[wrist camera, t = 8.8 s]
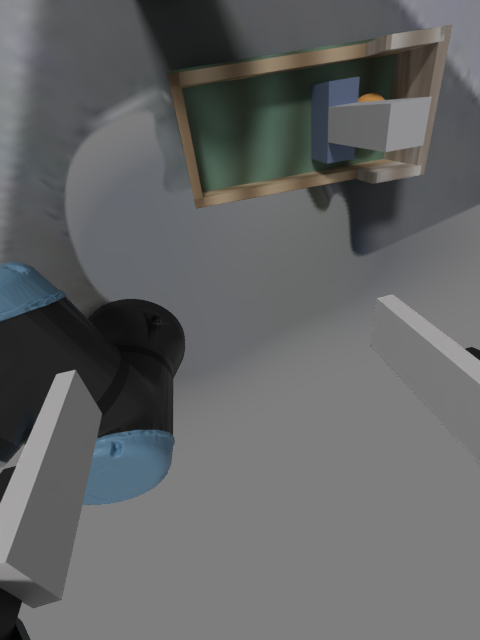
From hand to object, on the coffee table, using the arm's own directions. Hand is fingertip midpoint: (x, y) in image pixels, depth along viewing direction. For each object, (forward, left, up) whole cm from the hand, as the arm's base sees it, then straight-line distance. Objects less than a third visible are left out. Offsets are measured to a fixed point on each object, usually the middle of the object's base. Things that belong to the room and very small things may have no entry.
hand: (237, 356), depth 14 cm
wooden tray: (+12, +6, -30) cm, 33 cm away
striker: (+16, +6, -29) cm, 33 cm away
